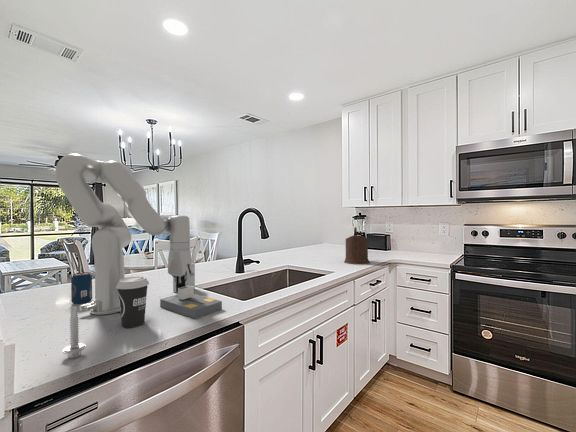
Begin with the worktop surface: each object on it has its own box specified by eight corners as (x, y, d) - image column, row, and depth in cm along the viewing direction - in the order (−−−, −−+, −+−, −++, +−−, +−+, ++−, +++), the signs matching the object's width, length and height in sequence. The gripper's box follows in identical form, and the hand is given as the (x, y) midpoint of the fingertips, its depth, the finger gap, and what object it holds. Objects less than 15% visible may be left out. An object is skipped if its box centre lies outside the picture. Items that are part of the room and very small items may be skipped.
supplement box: (187, 292, 129) (186, 265, 129) (172, 292, 130) (172, 265, 130) (195, 288, 136) (195, 262, 136) (181, 287, 138) (181, 262, 137)
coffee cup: (126, 332, 86) (125, 283, 86) (110, 326, 91) (109, 280, 91) (155, 322, 94) (154, 277, 94) (139, 316, 99) (138, 274, 99)
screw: (88, 355, 72) (64, 363, 69) (83, 349, 75) (60, 356, 72) (87, 305, 72) (63, 310, 68) (82, 301, 75) (59, 306, 72)
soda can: (69, 302, 116) (69, 273, 115) (90, 298, 121) (89, 271, 121) (73, 306, 111) (73, 276, 111) (94, 302, 116) (93, 273, 116)
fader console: (195, 318, 97) (195, 309, 97) (160, 306, 110) (160, 298, 110) (221, 309, 107) (221, 300, 107) (187, 299, 120) (186, 291, 119)
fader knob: (182, 299, 107) (182, 289, 107) (177, 298, 109) (177, 288, 109) (193, 296, 111) (193, 286, 111) (189, 295, 113) (189, 285, 113)
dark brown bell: (344, 264, 198) (344, 228, 197) (343, 258, 221) (343, 227, 221) (371, 264, 194) (371, 228, 194) (367, 259, 218) (367, 227, 218)
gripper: (160, 246, 113) (161, 291, 113) (183, 248, 105) (183, 297, 105) (177, 244, 119) (178, 287, 119) (199, 246, 111) (200, 292, 111)
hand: (180, 292), depth 112 cm, fingers closed
